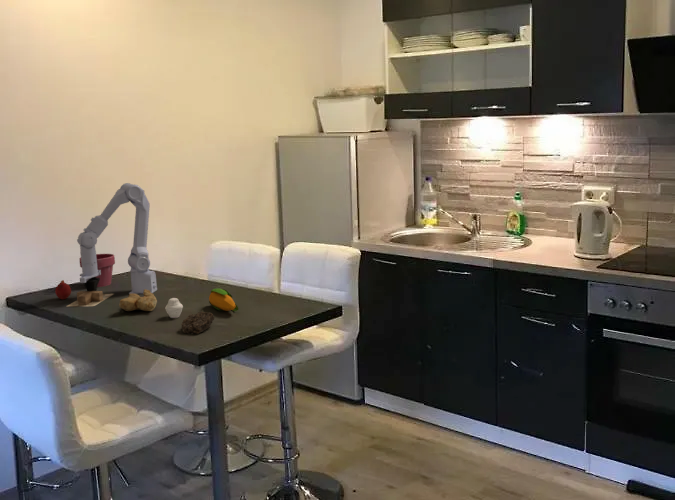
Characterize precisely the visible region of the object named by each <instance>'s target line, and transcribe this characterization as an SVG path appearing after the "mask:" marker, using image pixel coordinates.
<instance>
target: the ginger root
mask: <svg viewBox="0 0 675 500" xmlns="http://www.w3.org/2000/svg"><path fill="white" fill-rule="evenodd" d="M128 294H129V293H128ZM142 294H143V296H140V295H139V294H138V293H132V294H129V295H128V296H127V297H124V298H122V299H120V300H119V304H118V307H119V308H120V309H122V310H124V311H127V312H131V311H135V310H137V311H144V312H152V311H154V310H155V308H156V306H157V304H158V300H157V297H156V296H155V294H154V292H153V293H151V292H150V290H147V289H144V292H143V293H142Z"/></svg>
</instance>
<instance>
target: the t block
mask: <svg viewBox="0 0 675 500" xmlns="http://www.w3.org/2000/svg"><path fill="white" fill-rule="evenodd" d="M103 294H104V293H103V291H102V290H97V291H87V290H79V291H78V292H76V300H77V301H78V305H88V304H89V303H91V302H100V301H102V300H103ZM102 302H103V301H102ZM100 303H101V302H100Z"/></svg>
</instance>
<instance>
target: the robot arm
mask: <svg viewBox="0 0 675 500" xmlns="http://www.w3.org/2000/svg"><path fill="white" fill-rule="evenodd" d="M128 203H130V204H132V205H133V206H134V207H135V217H134V218H135V219H134V231H133V243H132V244H133V246H132V248H131V249H130V254H129V256H128V258H127V264H128V266H129V267H130V270H129V271H130V272H129V273H130V281H131V282H130V284H131V291H130V292H128V294H132V293H134V294H143V292H144V289H147V290H150V292H151V293H153V294H154V293H155V292H156V291H158V285H157V276H156V275H157V274H156V272H155V271H154V270H150V266H151V261H150V258H149V251H148V248H147V245H148V234H149V233H148V232H149V231H148V230H149V217H150V201H149V199H148V198H147V196H146V194H145V190H144V189H143V188H142V187H141V186H139V185H138V184H133V183H129V182H127V183H123V184H122V185H121V186H120V188H119V189H117V190H116V192H115V193H114V195H113V197H112V198H111V199H110V201H109V203H107V205H106V207H104V209H103V211H101V214H100V215H95V216H94V217H91V219H90V221H91V222H89V224H88V225H87V226H86V228H84V229H83V232H80V233H79V235H78V237H77V239H76V241H77V244H78V245H79V248H80V257H81V263H82V268H81V272H82V273H80V274H79V277H80V278H79V283H80V284H83V285H84V287H85V289H86V291H98V290H97V289H98V287H97V286H98V283H99V281H100V278H96V276H98V275H101V270H98V268H97V258H96V254H97V250H96V245H97V242H98V238H99V237H100V236H101V235H102V234H103V232H104V231H105V230H106V228H107V227H108V225H109V222H108V221H109V219H110V218H111V217H112V216H113V215H114V213H115V212H116V211H117V210H118V208H119V207H120V206H121V205H124V204H128Z"/></svg>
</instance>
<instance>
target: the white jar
mask: <svg viewBox="0 0 675 500" xmlns="http://www.w3.org/2000/svg"><path fill="white" fill-rule="evenodd" d="M179 300H180V299H178V298H176V297H172V298H171V297H170V299H168V303H167V304H166V306H165V307H164V308H165V312H166V313H167V314H168V316H169V318H171V319H177V318H179V317H180V316H181V314H182V311H183V308H184V306H183V304H182V303H181V301H179Z"/></svg>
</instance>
